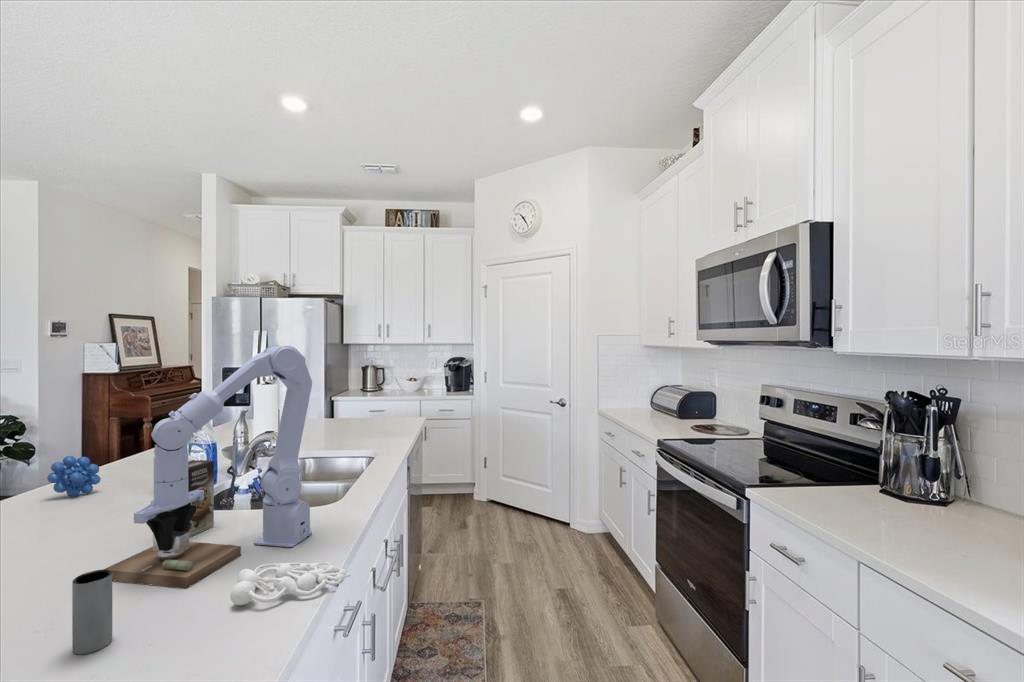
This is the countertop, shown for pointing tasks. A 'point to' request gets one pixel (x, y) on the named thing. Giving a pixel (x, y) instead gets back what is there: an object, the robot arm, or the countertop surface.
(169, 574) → the base
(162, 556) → the knob
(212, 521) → the coffee box
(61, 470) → the blue ball cluster
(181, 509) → the robot arm
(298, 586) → the tangled rod sculpture
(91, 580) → the planter
